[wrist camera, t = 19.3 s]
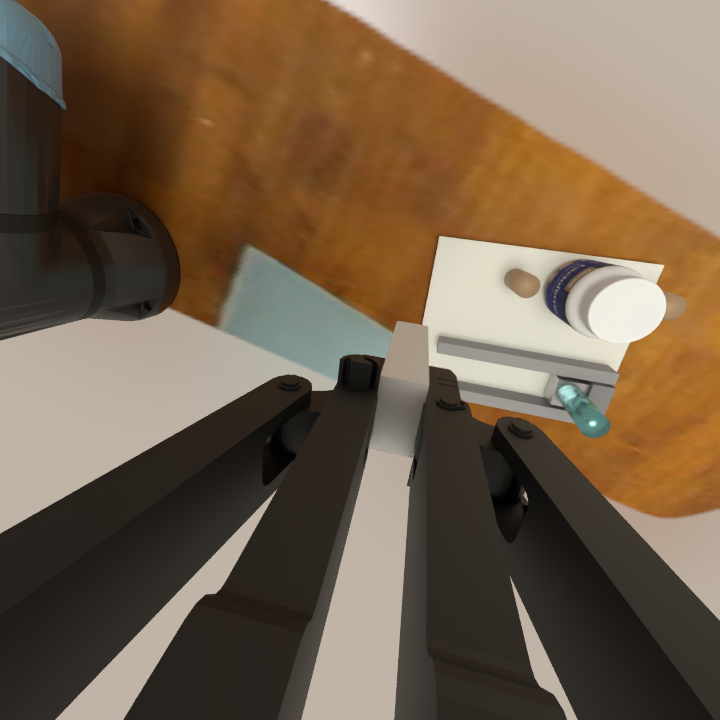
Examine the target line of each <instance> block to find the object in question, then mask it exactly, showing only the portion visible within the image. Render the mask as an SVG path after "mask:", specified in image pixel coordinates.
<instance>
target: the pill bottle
mask: <svg viewBox="0 0 720 720" xmlns="http://www.w3.org/2000/svg"><path fill="white" fill-rule="evenodd" d="M543 297H544V302H545V304H546V306H547V308H548V309H549V310H550V311H551V312H552V313H553V314H554V315H555V316H557V317H558V318H559V319H561V320H562V321H563V322H565V323H566V324H567V325H569V326H570V327H571V328H573V329H574V330H575V331H577V332H578V333H580V334H582V335H584V336H586V337H590V338H594V339H602V340H604V341H606V342H610V343H629V342H633V341H636V340H639V339H641V338H643V337H645V336H647V335H648V334H650V333H651V332H652V331H653V330H654V329H655V328H656V327H657V326H658V325H659V324H660V322H661V321H662V319H663V317H664V314H665V311H666V298H665V295H664V293H663V291H662V290H661V289H660V288H659V286H657V285H656V284H655V283H653V282H651V281H649V280H646V279H645V278H644V277H643V276H642V275H641V274H640V273H638V272H637V271H635V270H633V269H631V268H628V267H624V266H619V265H614V264H610V263H605V262H600V261H595V260H590V259H577V260H572V261H569V262H567V263H564V264H563V265H561V266H559V267H558V268H557V269H556V270H554V271H553V272H552V273H551V275H550V276H549V277H548V279H547V281H546V283H545V286H544V291H543Z"/></svg>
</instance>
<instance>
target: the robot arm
mask: <svg viewBox="0 0 720 720" xmlns="http://www.w3.org/2000/svg"><path fill="white" fill-rule="evenodd" d="M63 111H66V104H65V102H64V100H63V91H62V57H61V52H60V49H59V47H58V44H57V42H56V40H55V38H54V37H53V35H52V34H51V32H50V31H49V30H48V29H47V27H46V26H45V25H44V24H43V23H42V22H41V21H40V20H39V19H38V18H37V17H36V16H34V15H33V14H32V13H31V12H30V11H28V10H27V9H26V8H24V7H23V6H22V5H20V4H19V3H18V2H16V1H15V0H0V340H4V339H8V338H12V337H16V336H19V335H24V334H27V333H31V332H35V331H39V330H43V329H46V328H50V327H54V326H58V325H62V324H66V323H70V322H74V321H78V320H81V319H86V318H92V319H106V320H120V321H135V320H141V319H145V318H148V317H152V316H155V315H157V314H160V313H161V312H163V311H164V310H165V309H167V307H168V306H169V305H170V304H171V303H172V301H173V299H174V297H175V295H176V293H177V289H178V285H179V262H178V257H177V253H176V250H175V247H174V244H173V242H172V239H171V237H170V235H169V234H168V232H167V230H166V229H165V227H164V225H163V224H162V223H161V221H160V220H159V219H158V218H157V217H156V216H155V214H154V213H153V212H152V211H150V210H149V209H148V208H147V207H146V206H144V205H143V204H142V203H140V202H138V201H137V200H135V199H133V198H131V197H128V196H125V195H121V194H115V193H106V192H90V193H85V194H81V195H78V196H74V197H71V198H68V199H64V200H61V201H59V185H60V162H61V143H62V124H63ZM457 382H458V381H457V377H456V375H455V374H454V373H453V372H452V371H451V370H450V369H445V368H439V367H434V366H429V344H428V326H425V325H419V324H413V323H407V322H401V321H397V323H396V327H395V330H394V333H393V336H392V340H391V343H390V346H389V349H388V353H387V356H386V359H385V358H380V357H375V356H369V355H357V354H355V355H347V356H343V357H342V358H341V359H340V365H339V374H338V383H337V384H336V386H335V388H334V390H329V391H312V384H311V382H309V380H307V379H305V378H303V377H299V376H297V375H284V376H279V377H276V378H273V379H271V380H269V381H268V382H266V383H264V384H262V385H261V386H259V387H257V388H255V389H254V390H252V391H250V392H248V393H247V394H245V395H243V396H241V397H239V398H238V399H236V400H234V401H232V402H231V403H229V404H227V405H226V406H224V407H222V408H220V409H218V410H217V411H215V412H213V413H211V414H210V415H208V416H206V417H204V418H203V419H201V420H199V421H197V422H196V423H194V424H192V425H191V426H189V427H187V428H185V429H184V430H182V431H180V432H178V433H176V434H174V435H173V436H171V437H169V438H167V439H166V440H164V441H162V442H160V443H159V444H157V445H155V446H154V447H152V448H150V449H148V450H146V451H145V452H143V453H141V454H139V455H138V456H136V457H134V458H132V459H131V460H129V461H127V462H125V463H124V464H122V465H120V466H118V467H117V468H115V469H113V470H111V471H110V472H108V473H106V474H104V475H102V476H101V477H99V478H97V479H95V480H94V481H92V482H90V483H88V484H87V485H85V486H83V487H81V488H80V489H78V490H76V491H74V492H73V493H71V494H69V495H68V496H66V497H64V498H62V499H60V500H59V501H57V502H55V503H53V504H52V505H50V506H48V507H47V508H45V509H43V510H41V511H40V512H38V513H36V514H34V515H32V516H31V517H29V518H27V519H26V520H23V521H22V522H20V523H19V524H17V525H15V526H13V527H11V528H9V529H8V530H6V531H4V532H2V533H1V534H0V720H55V719H56V718H57V717H58V716H59V715H60V714H61V713H62V712H63V711H64V710H65V709H66V708H67V707H68V706H69V705H70V704H71V702H72V701H73V700H74V699H75V698H76V697H77V696H78V695H79V694H80V693H81V692H82V691H83V690H84V689H85V688H86V687H87V686H88V685H89V684H90V683H91V682H92V681H93V680H94V679H95V678H96V676H97V675H98V674H99V673H100V672H101V671H102V670H103V669H104V668H105V667H106V666H107V665H108V664H109V663H110V662H111V661H112V660H113V659H114V658H115V657H116V656H117V655H118V654H119V653H120V652H121V651H122V650H123V648H124V647H125V646H126V645H127V644H128V643H129V642H130V641H131V640H132V639H133V638H134V637H135V636H136V635H137V634H138V633H139V632H140V631H141V630H142V629H143V628H144V627H145V626H146V624H148V622H149V621H150V620H151V619H152V618H153V617H154V616H155V615H156V614H157V613H158V612H159V611H160V610H161V609H162V608H163V607H164V606H165V605H166V604H167V603H168V602H169V601H170V600H171V598H173V596H175V595H176V593H177V592H178V591H179V590H180V589H181V588H182V587H183V586H184V585H185V584H186V583H187V582H188V581H189V580H190V579H191V578H192V577H193V576H194V575H195V574H196V573H197V572H198V571H199V569H201V567H202V566H203V565H204V564H205V563H206V562H207V561H208V560H209V559H210V558H211V557H212V556H213V555H214V554H215V553H216V552H217V551H218V550H219V549H220V548H221V547H222V546H223V545H224V544H225V543H226V541H227V540H228V539H229V538H230V537H231V536H232V535H233V534H234V533H235V532H236V531H237V530H238V529H239V528H240V527H241V526H242V525H243V524H244V523H245V522H246V521H247V520H248V519H249V518H250V517H251V516H252V515H253V513H255V511H256V510H257V509H258V508H259V507H260V506H261V505H262V504H263V503H264V502H265V501H266V500H267V499H268V498H269V497H270V496H271V495H272V494H273V493H274V491H276V490H277V491H276V493H275V495H274V497H273V498H272V500H271V502H270V504H269V505H268V507H267V509H266V511H265V513H264V514H263V516H262V518H261V520H260V521H259V523H258V525H257V527H256V529H255V531H254V532H253V534H252V536H251V538H250V539H249V541H248V543H247V545H246V547H245V548H244V550H243V552H242V553H241V555H240V557H239V559H238V561H237V562H236V564H235V566H234V568H233V569H232V571H231V573H230V575H229V577H228V578H227V580H226V582H225V583H224V585H223V586H222V588H221V589H220V590H219V591H218V592H217V593H216V594H207V595H205V596H204V597H203V598H202V599H200V600H199V601H198V602H197V603H196V604H195V606H194V607H193V609H192V610H191V611H190V613H189V614H188V616H187V617H186V619H185V620H184V622H183V623H182V625H181V627H180V628H179V630H178V631H177V633H176V635H175V636H174V638H173V640H172V641H171V643H170V644H169V646H168V648H167V649H166V651H165V653H164V654H163V656H162V658H161V659H160V661H159V663H158V664H157V666H156V667H155V669H154V671H153V672H152V674H151V675H150V677H149V679H148V680H147V682H146V684H145V685H144V687H143V689H142V690H141V692H140V693H139V695H138V697H137V698H136V700H135V702H134V703H133V705H132V707H131V708H130V710H129V712H128V713H127V715H126V716H125V718H124V720H301V718H302V714H303V710H304V706H305V702H306V698H307V694H308V690H309V686H310V682H311V678H312V674H313V670H314V666H315V662H316V658H317V654H318V650H319V646H320V642H321V638H322V634H323V630H324V626H325V623H326V618H327V615H328V611H329V607H330V602H331V599H332V594H333V591H334V587H335V583H336V579H337V575H338V571H339V567H340V563H341V559H342V555H343V551H344V547H345V543H346V539H347V535H348V531H349V527H350V523H351V519H352V515H353V511H354V507H355V503H356V499H357V495H358V491H359V487H360V483H361V479H362V475H363V471H364V468H365V464H366V460H367V455H368V449H369V448H370V449H375V450H380V451H384V452H388V453H393V454H397V455H402V456H407V457H411V458H412V457H413V454H414V458H413V462H412V466H411V471H410V475H409V479H408V484H407V486H410V494H409V510H408V524H407V539H406V554H405V569H404V584H403V599H402V615H401V629H400V645H399V658H398V673H397V688H396V689H397V690H396V704H395V718H394V720H567V719H566V716H565V713H564V711H563V709H562V707H561V706H560V704H559V702H558V701H557V699H556V698H555V696H554V695H553V694H552V693H550V692H548V691H546V690H544V689H543V688H541V687H540V686H539V685H538V683H537V681H536V680H535V678H534V674H533V671H532V668H531V665H530V660H529V656H528V652H527V648H526V643H525V639H524V635H523V631H522V626H521V622H520V619H519V614H518V609H517V605H516V601H515V597H514V592H513V589H512V584H511V580H510V577H511V579H512V581H513V583H514V585H515V587H516V589H517V592H518V593H519V596H520V598H521V600H522V602H523V604H524V606H525V609H526V611H527V613H528V615H529V617H530V619H531V621H532V623H533V626H534V628H535V630H536V632H537V634H538V636H539V638H540V640H541V643H542V645H543V647H544V649H545V651H546V653H547V655H548V657H549V659H550V661H551V664H552V666H553V668H554V670H555V672H556V674H557V676H558V678H559V681H560V683H561V685H562V687H563V689H564V691H565V694H566V696H567V698H568V700H569V702H570V704H571V706H572V708H573V711H574V713H575V715H576V717H577V719H578V720H720V621H719V620H718V618H716V616H715V615H714V614H713V613H712V612H711V611H710V610H709V609H708V608H707V607H706V606H705V605H704V603H703V602H702V601H701V600H700V599H699V598H698V597H697V596H696V595H695V594H694V593H693V592H692V591H691V590H690V588H689V587H688V586H687V585H686V584H685V583H684V582H683V581H682V580H681V579H680V578H679V577H678V576H677V575H676V574H675V572H674V571H673V570H672V569H671V568H670V567H669V566H668V565H667V564H666V563H665V562H664V561H663V560H662V559H661V558H660V556H659V555H658V554H657V553H656V552H655V551H654V550H653V549H652V548H651V547H650V546H649V545H648V544H647V542H646V541H645V540H644V539H643V538H642V537H641V536H640V535H639V534H638V533H637V532H636V531H635V530H634V529H633V528H632V526H631V525H630V524H629V523H628V522H627V521H626V520H625V519H624V518H623V517H622V516H621V515H620V514H619V513H618V512H617V510H616V509H615V508H614V507H613V506H612V505H611V504H610V503H609V502H608V501H607V500H606V499H605V498H604V496H603V495H602V494H601V493H600V492H599V491H598V490H597V489H596V488H595V487H594V486H593V485H592V484H591V483H590V482H589V480H588V479H587V478H586V477H585V476H584V475H583V474H582V473H581V472H580V471H579V470H578V469H577V468H576V467H575V465H574V464H573V463H572V462H571V461H570V460H569V459H568V458H567V457H566V456H565V455H564V454H563V453H562V452H561V450H560V449H559V448H558V447H557V446H556V445H555V444H554V443H553V442H552V441H551V440H550V439H549V438H548V437H547V435H546V434H545V433H544V432H543V431H542V430H540V429H539V428H538V427H537V426H535V425H533V424H531V423H530V422H529V421H526V420H522V419H521V418H513V417H502V418H500V419H498V420H497V422H496V425H495V427H494V426H491V425H489V424H486V423H483V422H481V421H479V420H477V419H475V418H473V417H472V414H471V410H470V407H469V406H468V404H467V403H466V402H464V401H463V400H461V396H460V391H459V388H458V387H459V386H458V383H457ZM414 449H415V452H414ZM525 491H526V493H527V497H528V502H527V500H526V499H525V497H524V496H523V495H524V493H525Z"/></svg>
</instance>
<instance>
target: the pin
mask: <svg viewBox="0 0 720 720" xmlns="http://www.w3.org/2000/svg"><path fill="white" fill-rule="evenodd" d="M589 386H590V385H589V384H588V383H587V382H586V381H585V380H582V379H576V378H571V377H565V376H560V375H554V374H550V377H549V379H548V382H547V385H546V388H545V390H544V393H543V394H544V396H545V397H546V399H547V400H548V402H549V403H550V404H552V405H557V406H562V407H564V408H565V410H566V411H567V413H568V414H569V415H570V417H571V418H572V420H573V421H574V422H575V424H576V425H577V427H578V428H579V429H580V431H581V432H582V433H583V434H584V435H585V436H587V437H589V438H599V437H602V436H604V435H605V434H607V433H608V431H609V430H610V422H609V420H608V419H607V418H606V417H605V416H604V414H603V413H602V412H601V411H600V410H599V409H598V408H597V407H596V406H595V405H594V403H593V402H592V401H591V400H590V399H589V398H588V397H587V396H586V393H587V391H588V388H589Z"/></svg>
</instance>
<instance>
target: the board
mask: <svg viewBox="0 0 720 720" xmlns="http://www.w3.org/2000/svg"><path fill="white" fill-rule="evenodd" d="M577 259H590V260H595V261H600V262H605V263H610V264H614V265H619V266H624V267H628V268H631V269H633V270H635V271H637V272H638V273H640V274H641V275H642V276H643V277H644V278H645V279H646V280H649V281H651V282H653V283H655V284H656V283H657V281H658V278H659V276H660V274H661V272H662V269H663V267H664V265H659V264H652V263H644V262H636V261H629V260H621V259H613V258H606V257H598V256H590V255H582V254H575V253H567V252H559V251H552V250H544V249H536V248H528V247H521V246H513V245H505V244H497V243H490V242H482V241H474V240H467V239H459V238H451V237H443V236H439V241H438V246H437V251H436V257H435V262H434V267H433V272H432V277H431V282H430V287H429V292H428V298H427V303H426V308H425V313H424V318H423V323H422V325H425V326H428V344H429V366H434V367H439V368H445V369H450V370H451V371H452V372H453V373H454V374H455V375H456V377H457V381H458V382H457V383H458V386H459V387H458V388H459V391H460V396H461V400H463V401H466V402H471V403H476V404H481V405H486V406H491V407H496V408H501V409H506V410H511V411H516V412H521V413H526V414H531V415H535V416H540V417H545V418H550V419H555V420H560V421H565V422H570V423H575V422H574V421H573V420H572V418H571V417H570V415H569V414H568V413H567V411H566V410H565V408H564V407H562V406H557V405H552V404H550V403H549V402H548V400H547V399H546V397H545V396H544V394H543V393H544V390H545V388H546V385H547V382H548V379H549V377H550V374H554V375H560V376H565V377H571V378H576V379H582V380H585V381H586V382H587V383H588V384H589V385H590V386H589V388H588V391H587V393H586V396H587V397H588V398H589V399H590V400H591V401H592V402H593V403H594V405H595V406H596V407H597V408H598V409H599V410H600V411H601V412H602V413H603V414H604V415H605V412H606V410H607V408H608V406H609V404H610V401H611V399H612V397H613V395H614V393H615V390H616V388H615V387H613V386H612V385H615V384H616V382H617V379H618V377H619V375H620V374H619V373H618V372H617V370H618V368H619V366H620V363H621V361H622V359H623V357H624V354H625V352H626V350H627V348H628V345H629V343H630V342H629V343H610V342H606V341H604V340H602V339H594V338H590V337H586V336H584V335H582V334H580V333H578V332H577V331H575V330H574V329H573V328H571V327H570V326H569V325H567V324H566V323H565V322H563V321H562V320H561V319H559V318H558V317H557V316H555V315H554V314H553V313H552V312H551V311H550V310H549V309H548V308H547V306H546V304H545V302H544V297H543V291H544V286H545V283H546V281H547V279H548V277H549V276H550V275H551V273H552V272H553V271H554V270H556V269H557V268H558V267H559V266H561V265H563V264H564V263H567V262H569V261H572V260H577ZM663 293H664V295H665V298H666V311H665V314H664V317H663V319H665V320H672V319H676V318H678V317H679V316H681V315H682V314H683V313H684V312H685V310H686V308H687V302H686V300H685V298H683V297H682V296H679V295H675V294H672V293H668V292H664V291H663Z"/></svg>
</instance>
